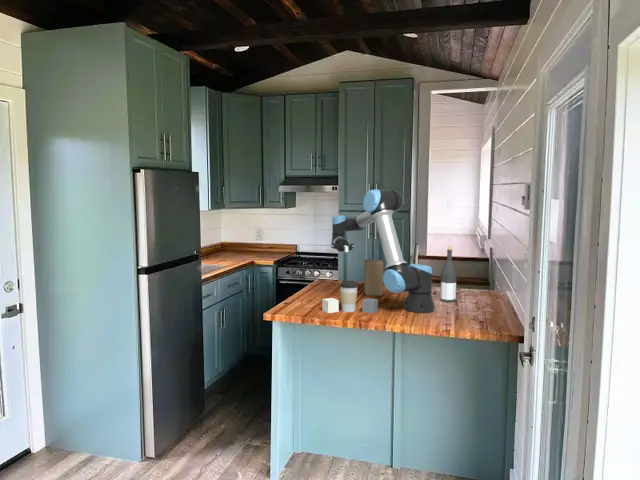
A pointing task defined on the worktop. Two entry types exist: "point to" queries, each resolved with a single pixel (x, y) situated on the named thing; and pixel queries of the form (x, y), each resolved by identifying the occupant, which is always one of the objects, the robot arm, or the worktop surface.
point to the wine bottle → (448, 280)
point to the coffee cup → (348, 295)
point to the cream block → (330, 305)
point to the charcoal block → (370, 305)
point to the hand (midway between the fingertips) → (346, 249)
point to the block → (373, 277)
